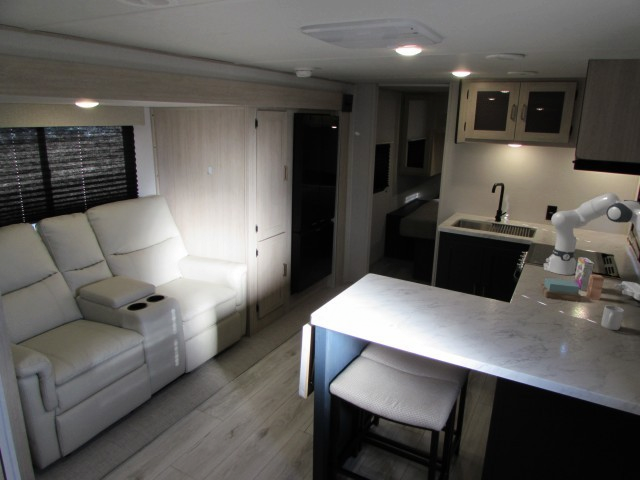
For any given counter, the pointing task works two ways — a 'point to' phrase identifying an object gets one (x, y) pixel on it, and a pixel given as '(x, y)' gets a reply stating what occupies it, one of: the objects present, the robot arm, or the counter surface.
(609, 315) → the cup
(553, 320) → the counter surface
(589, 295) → the terracotta block
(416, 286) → the counter surface
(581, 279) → the candy bar box
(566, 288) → the tower top
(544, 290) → the block
